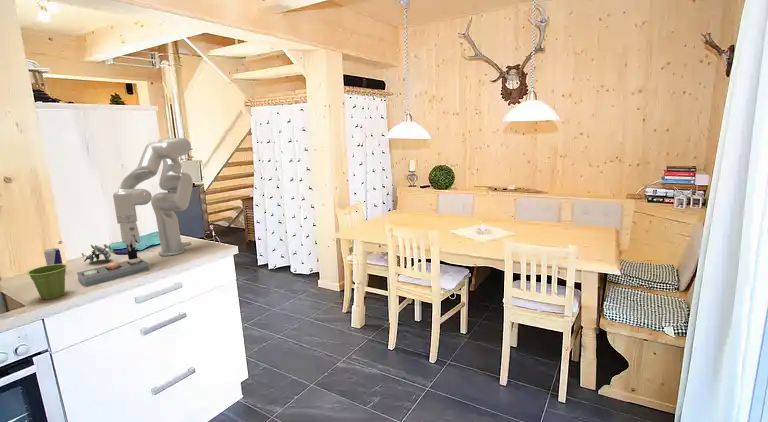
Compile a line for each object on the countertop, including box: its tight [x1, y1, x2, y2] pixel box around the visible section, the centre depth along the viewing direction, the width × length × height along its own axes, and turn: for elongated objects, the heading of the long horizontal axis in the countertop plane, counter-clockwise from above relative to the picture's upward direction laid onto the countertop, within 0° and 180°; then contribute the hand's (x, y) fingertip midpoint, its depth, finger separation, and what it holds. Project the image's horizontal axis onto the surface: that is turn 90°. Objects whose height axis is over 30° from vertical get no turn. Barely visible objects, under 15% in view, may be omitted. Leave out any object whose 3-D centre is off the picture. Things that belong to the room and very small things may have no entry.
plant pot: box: [26, 263, 68, 301], centre depth 153 cm, size 12×12×11 cm
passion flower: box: [81, 243, 112, 265], centre depth 193 cm, size 11×11×12 cm
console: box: [76, 258, 150, 288], centre depth 175 cm, size 24×12×4 cm, turn 138°
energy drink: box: [44, 247, 64, 266], centre depth 177 cm, size 5×5×12 cm
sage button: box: [84, 270, 97, 276], centre depth 168 cm, size 5×5×2 cm
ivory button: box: [128, 256, 142, 264], centre depth 180 cm, size 5×5×2 cm
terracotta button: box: [105, 261, 120, 269], centre depth 174 cm, size 5×5×2 cm
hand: (133, 258), depth 179 cm, fingers closed
